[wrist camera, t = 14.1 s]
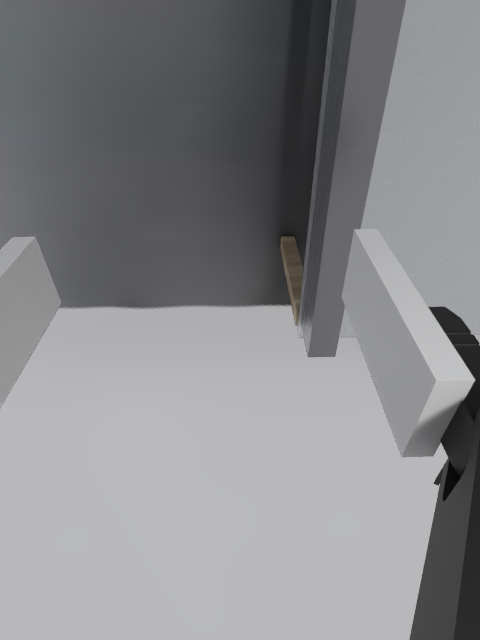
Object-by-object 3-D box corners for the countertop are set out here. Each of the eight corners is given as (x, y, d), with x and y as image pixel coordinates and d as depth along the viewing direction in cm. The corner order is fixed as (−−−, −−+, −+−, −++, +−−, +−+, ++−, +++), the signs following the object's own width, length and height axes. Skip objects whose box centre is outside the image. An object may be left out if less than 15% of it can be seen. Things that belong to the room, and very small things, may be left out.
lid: (343, -113, 13) (376, -149, 10) (698, -120, 13) (839, -158, 10) (297, 328, 26) (305, 371, 23) (478, 324, 26) (511, 366, 23)
